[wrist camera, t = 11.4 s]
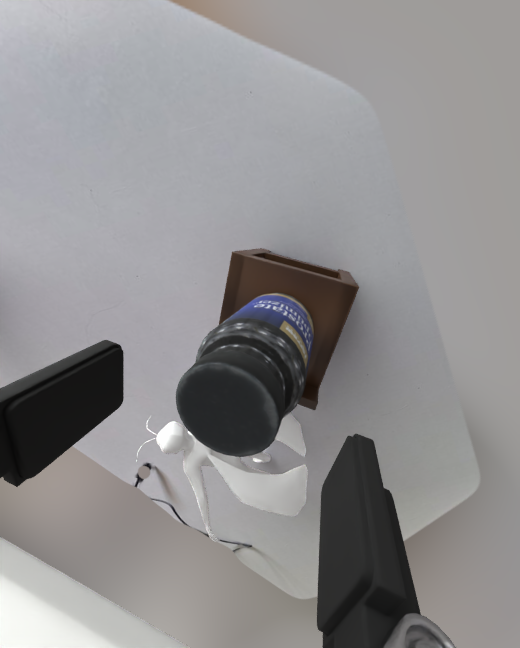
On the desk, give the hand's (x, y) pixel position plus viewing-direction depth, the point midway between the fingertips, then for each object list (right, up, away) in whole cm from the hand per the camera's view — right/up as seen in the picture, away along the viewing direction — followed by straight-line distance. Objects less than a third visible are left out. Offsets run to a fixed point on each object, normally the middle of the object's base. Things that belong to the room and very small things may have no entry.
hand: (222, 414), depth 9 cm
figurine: (+1, -9, +25) cm, 27 cm away
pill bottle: (+3, +3, +11) cm, 12 cm away
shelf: (+5, +6, +19) cm, 21 cm away
